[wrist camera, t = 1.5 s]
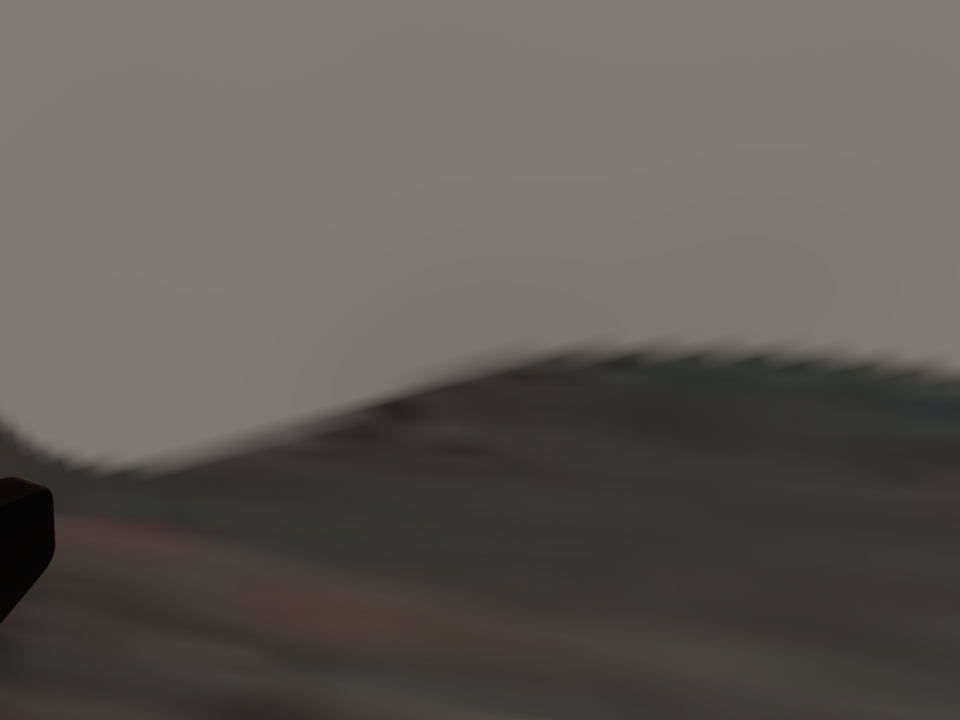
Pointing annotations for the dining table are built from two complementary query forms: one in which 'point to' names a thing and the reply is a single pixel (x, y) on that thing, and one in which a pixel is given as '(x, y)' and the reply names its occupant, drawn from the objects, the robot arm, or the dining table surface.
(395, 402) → the dining table surface
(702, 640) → the dining table surface
